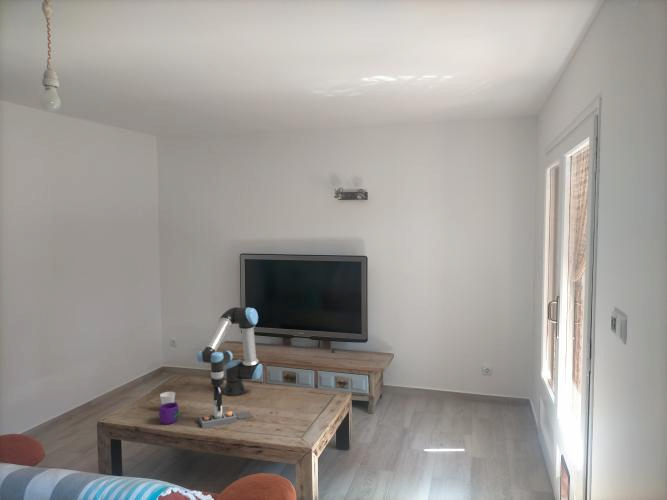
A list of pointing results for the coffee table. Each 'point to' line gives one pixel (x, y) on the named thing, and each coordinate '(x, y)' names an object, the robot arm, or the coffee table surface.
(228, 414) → the orange oval ball
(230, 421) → the tray
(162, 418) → the mug
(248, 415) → the mat
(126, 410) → the coffee table surface
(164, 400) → the cup
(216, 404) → the cylinder
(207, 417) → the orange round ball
